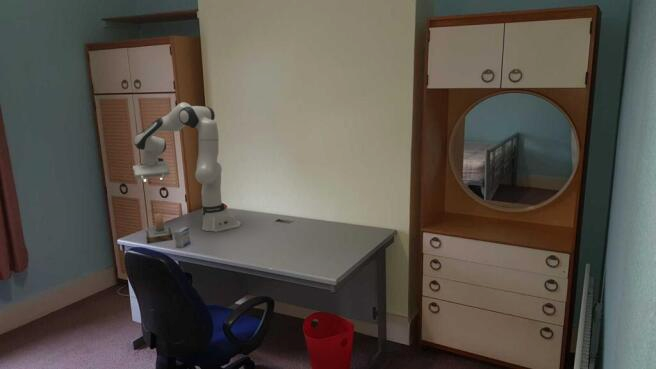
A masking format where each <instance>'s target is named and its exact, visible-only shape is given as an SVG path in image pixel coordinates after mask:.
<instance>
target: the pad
mask: <svg viewBox="0 0 656 369" xmlns="http://www.w3.org/2000/svg"><path fill="white" fill-rule="evenodd" d="M167 233H168V230H167V226H166V227H165V226H164V231H161V232H157V231H156V228H153V234H154V235H155V236H156V235H161V234H167Z"/></svg>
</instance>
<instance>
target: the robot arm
mask: <svg viewBox="0 0 656 369" xmlns="http://www.w3.org/2000/svg"><path fill="white" fill-rule="evenodd" d="M215 117H216V115H215V111H214V109H212V108H211V107H209V106H206V105H203V106H202V105H191V104H190V103H187V102H185V101H183V102H180V103H178V104H177V105H176V106H174V107H173V109H172V110H171V111H169V113H168V114H167V115H165V116H162V117H159V118H157V119H156V120H154V121H153V122H152V123H151V124H149V125H148V126H147V127H146V128H145V129H143V130H142V131H141V132H139V133H137V134H136V135H135V137H134V139H133V143H134V145H135V147H136V148H137V149H138V150H141V156H142V163H140V164H135V165H133V166H132V171H133V173H134V174H133V176H134V178H135V179H136V180H138V179H141V181H142V182H143V184H147V179H146V178H156V177H159V181H160V182H164V178H165V176H169V175H170V174H171V172H170V171H171V170H170V167H169V165H168V163H167V161H166V159H165V158H163V157H162V158H161V157H158V156H161V155H162V154H163V153H164V152H165V151H166V150H167V142H166V140H165V139H164V138H162V137H159V136H155V135H156V134H157V133H158V132H179V131H181V130H183V129H184V128H185V126H187V127H190V128H191V129H194V128H196V129H197V131H198V141H197V142H198V153H197V154H198V155H197V161H196V170H195V173H194V177H195V179H196V181H197V182H198V183H199V184H201V191H200V194H201V195H200V196H201V203H202V205H201V213H202V226H201V227H202V228H201V229H202V230H203V231H206V232H214V233H217V232H222V231H227V230H231V229H236V228H239V227H241V226H242V223H241V221H240V220H238V219H237V216H236V215H235V214H234V213H233V212H232V211H230V210H228V209H227V208H228V205H227V204H225V203H223V202H222V192H221V191H222V190H221V187H222V171H223V170H222V169H223V168H222V164H221V163H219V161H218V157H219V156H218V155H219V150H220V149H219V130H218V125H217V122H216V121H215Z"/></svg>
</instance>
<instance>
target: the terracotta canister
mask: <svg viewBox="0 0 656 369" xmlns="http://www.w3.org/2000/svg"><path fill="white" fill-rule="evenodd" d="M153 218H154V224H155V229H156V231H157V232H161V231H164V227H165V226H164V217H163V212H158V213H157V212H156V213H154V215H153Z"/></svg>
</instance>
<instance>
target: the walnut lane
mask: <svg viewBox="0 0 656 369" xmlns="http://www.w3.org/2000/svg"><path fill="white" fill-rule="evenodd" d="M145 232H146V233H145V234H146V241H147V244H152V243H158V242H159V243H160V242H166V241H171V240H173V233H172V230H171V227H168V234H167V233H166V234H162V235H161V234H160V235H157V236H156V235H155V236H149V234H150V233H149V230H146V231H145Z"/></svg>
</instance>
